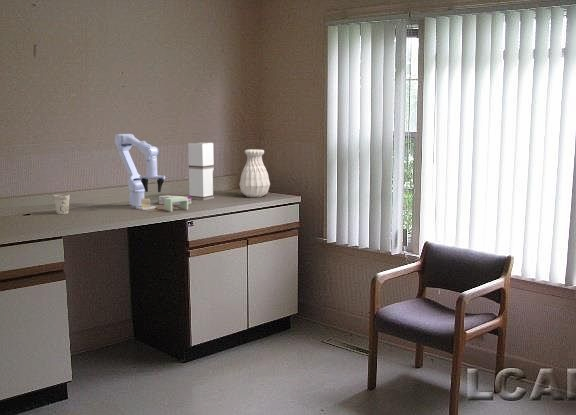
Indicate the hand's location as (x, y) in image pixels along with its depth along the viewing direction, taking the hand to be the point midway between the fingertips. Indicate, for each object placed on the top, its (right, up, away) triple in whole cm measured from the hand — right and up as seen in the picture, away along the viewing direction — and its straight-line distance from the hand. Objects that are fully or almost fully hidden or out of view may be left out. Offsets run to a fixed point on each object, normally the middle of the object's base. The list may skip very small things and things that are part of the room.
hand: (153, 191), depth 372 cm
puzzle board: (+5, -10, -3) cm, 12 cm away
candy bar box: (+18, -5, +15) cm, 24 cm away
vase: (+55, -2, +53) cm, 77 cm away
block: (-4, -9, -2) cm, 10 cm away
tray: (-4, -10, -2) cm, 10 cm away
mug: (-48, -12, -11) cm, 51 cm away
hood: (+15, -10, -8) cm, 19 cm away
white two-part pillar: (+22, -3, +44) cm, 49 cm away
